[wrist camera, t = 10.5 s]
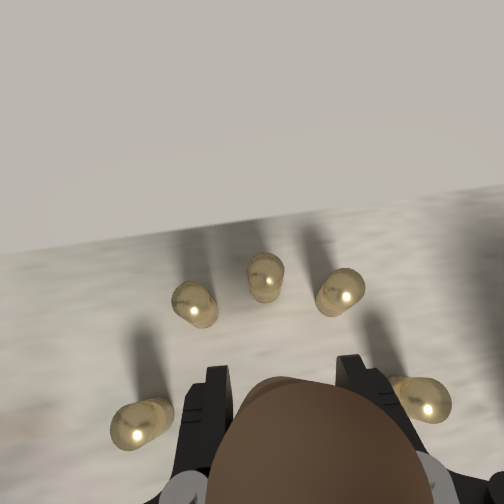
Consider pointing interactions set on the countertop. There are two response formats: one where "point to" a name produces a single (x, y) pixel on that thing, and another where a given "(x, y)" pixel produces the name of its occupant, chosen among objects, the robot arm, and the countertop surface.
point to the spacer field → (266, 291)
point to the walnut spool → (314, 450)
